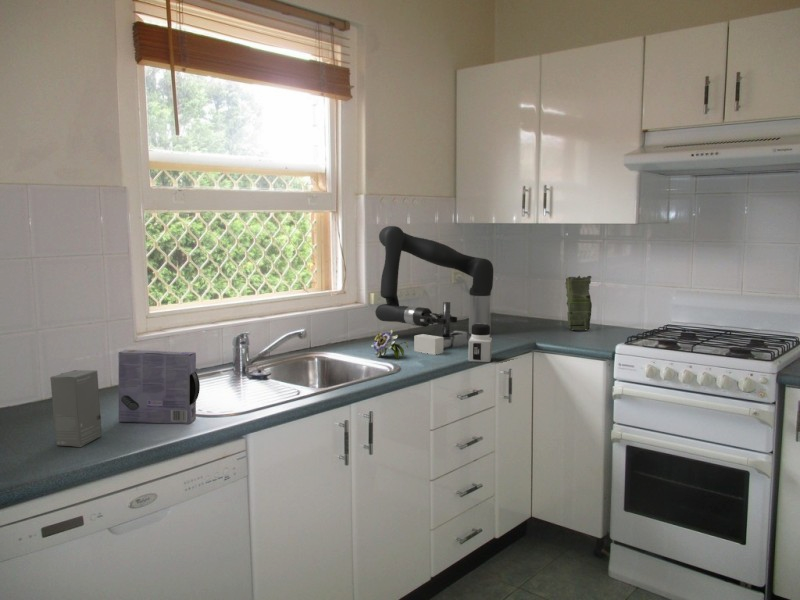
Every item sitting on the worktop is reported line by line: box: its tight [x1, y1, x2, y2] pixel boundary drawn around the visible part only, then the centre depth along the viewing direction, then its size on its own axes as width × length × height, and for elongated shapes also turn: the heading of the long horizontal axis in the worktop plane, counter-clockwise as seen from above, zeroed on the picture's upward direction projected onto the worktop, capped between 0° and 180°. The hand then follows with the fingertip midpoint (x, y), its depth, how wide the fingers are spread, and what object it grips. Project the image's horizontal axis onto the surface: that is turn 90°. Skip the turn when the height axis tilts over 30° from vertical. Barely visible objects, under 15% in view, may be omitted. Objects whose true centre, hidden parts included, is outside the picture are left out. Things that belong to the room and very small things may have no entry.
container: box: [467, 323, 493, 363], centre depth 239 cm, size 8×8×13 cm
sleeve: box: [447, 330, 469, 349], centre depth 265 cm, size 9×5×5 cm, turn 139°
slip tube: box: [441, 301, 453, 349], centre depth 261 cm, size 16×3×17 cm, turn 139°
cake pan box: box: [117, 349, 201, 425], centre depth 165 cm, size 19×5×18 cm, turn 88°
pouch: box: [565, 275, 593, 331], centre depth 303 cm, size 11×12×25 cm
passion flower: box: [370, 329, 409, 360], centre depth 243 cm, size 11×11×12 cm
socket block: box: [413, 333, 444, 356], centre depth 252 cm, size 5×10×6 cm, turn 49°
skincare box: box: [50, 369, 103, 448], centre depth 150 cm, size 8×7×16 cm
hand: (451, 320), depth 258 cm, fingers open, 6 cm apart
